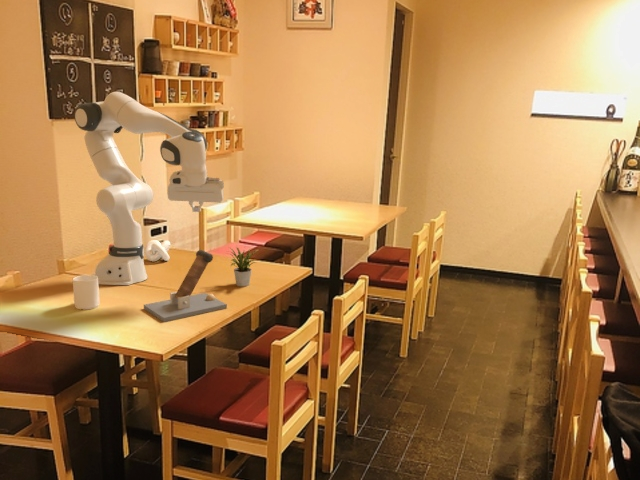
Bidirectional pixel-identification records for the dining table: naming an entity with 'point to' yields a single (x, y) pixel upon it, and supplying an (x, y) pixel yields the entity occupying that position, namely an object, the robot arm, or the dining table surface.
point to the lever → (194, 273)
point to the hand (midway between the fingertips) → (196, 211)
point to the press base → (184, 306)
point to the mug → (86, 292)
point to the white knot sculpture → (157, 250)
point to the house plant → (242, 268)
